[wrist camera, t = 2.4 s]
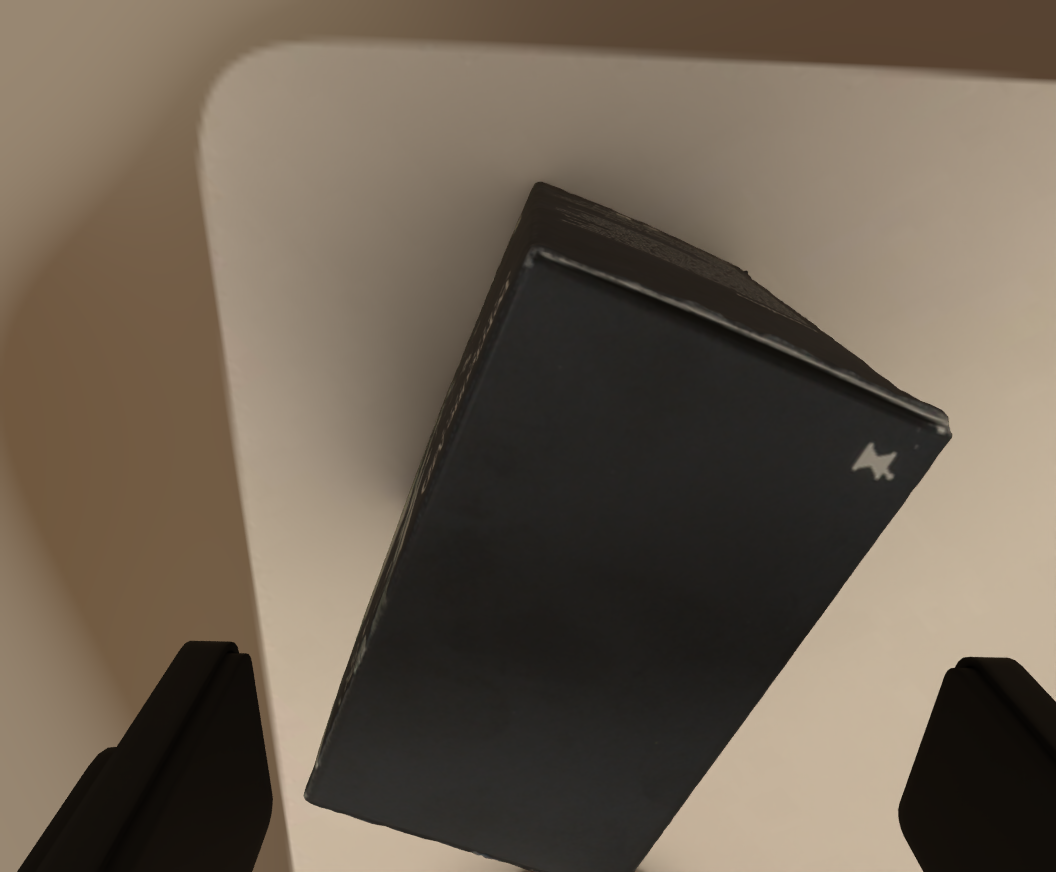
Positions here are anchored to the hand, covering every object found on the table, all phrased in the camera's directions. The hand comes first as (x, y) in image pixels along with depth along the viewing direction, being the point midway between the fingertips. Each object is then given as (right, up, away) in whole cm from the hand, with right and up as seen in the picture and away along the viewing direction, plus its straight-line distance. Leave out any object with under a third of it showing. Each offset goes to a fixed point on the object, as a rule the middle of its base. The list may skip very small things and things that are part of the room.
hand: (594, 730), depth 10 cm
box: (0, +5, +11) cm, 12 cm away
